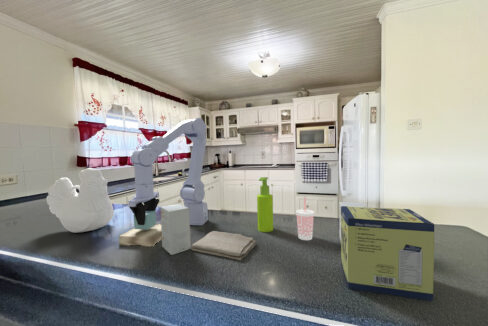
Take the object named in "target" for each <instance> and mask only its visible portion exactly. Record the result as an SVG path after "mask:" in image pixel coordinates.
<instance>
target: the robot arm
mask: <svg viewBox="0 0 488 326" xmlns="http://www.w3.org/2000/svg"><path fill="white" fill-rule="evenodd" d="M206 131H207V125H206V123H205V121H204V120H203V119H202V118H200V117H196V118H192V119H184V120H182V121H181V122H178V123H177V125H175V126H174V127H173V128H172V129H170V130H169V131H168V132H166V133H165V134H164V135H163V136H159V135H158V136H153V137H151V141H149V142H148V143H145V144H142V145H141V149H135V150H134V151H133V152H132V154H131V157H129V159H130V161H131V162H130V163H132V165H133V167H134V168H133V169H134V184H135V185H134V188H135V195H134V196H132V199H131V198H130V199H129V200H128V202H127V203H128V207H129V209H130V210H131V212H132V213H133V216H134V215H135V218H136V220H137V223H138V225H144V224H145V214H146V211H155V212H157V207H158V204H159V203H160V198H159V197H160V192H159V191H154V173H153V172H154V171H153V169H154V168H153V164H155V162H156V159H157V158H158V157H159V156H161V155H162V154H163V153H164V152H166V151H167V150H168V149H169V145H170V143H172V142H173V141H175V140H176V139H178V138H179V137H181V136H183V135H184V136H185V137H186V138H187V139H188V140H190V141H191V142H192V149H191V155H190V161H189V162H190V163H189V167H188V174H187V179H186V180H185V181H184V182H183V184H182V187H181V188H180V191H179V197H180V198H181V199H182V201H183V206H185V207H188V208H189V219H190V226H204V225H205V223H207V221H208V220H209V217H208V215H209V214H208V208H209V207H208V203H207V202H206V201H203V200H204V198H205V194H206V193H205V192H206V191H205V184H204V183H203V181H202V180H201V179H202V173H203V166H204V160H205V159H204V158H205V152H206V146H207V135H206Z"/></svg>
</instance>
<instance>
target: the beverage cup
mask: <svg viewBox="0 0 488 326" xmlns="http://www.w3.org/2000/svg"><path fill="white" fill-rule="evenodd" d="M306 201H307V200H306V196H304V197H303V206H304V207H303V208H304V209H303V208H301V209H300V208H299V209H296V211H295V215H296V222H297V223H296V224H297V226H296V227H297V236H298V237H297V238H298V239H300V240H301V241H310V240H313V231H314V216H315V211H314V210H311V209H306V208H307V207H306V204H307V203H306Z"/></svg>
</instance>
